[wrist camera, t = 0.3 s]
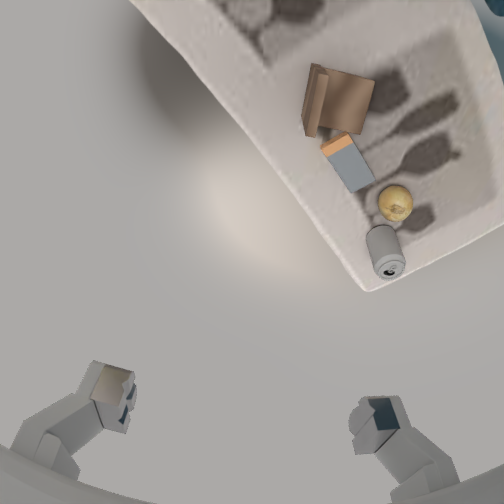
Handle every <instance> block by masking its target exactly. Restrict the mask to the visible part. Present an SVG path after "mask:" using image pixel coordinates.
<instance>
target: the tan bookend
mask: <svg viewBox="0 0 504 504" xmlns="http://www.w3.org/2000/svg"><path fill="white" fill-rule="evenodd" d="M374 84H375V81H373V80H369V79H367V78H364V77H360V76H356V75H352V74H348V73H344V72H340V71H336V70H332V69H327V68H323V67H321V65H318V64H313V63H311V68H310V73H309V79H308V84H307V89H306V94H305V99H304V104H303V109H302V114H301V117H302V121H303V126H304V130H305V135H306V136H308V137H313V138H315V136H316V132H317V128H318V126H322V127H327V128H332V129H337V130H341V131H346V132H350V133H355V134H359V135H360V134H361V131H362V127H363V124H364V121H365V117H366V114H367V110H368V106H369V103H370V99H371V96H372V92H373V88H374Z"/></svg>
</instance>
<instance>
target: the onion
mask: <svg viewBox="0 0 504 504" xmlns="http://www.w3.org/2000/svg"><path fill="white" fill-rule="evenodd" d="M378 207H379V210H380V212H381V214H382V216H383V217H384V218H385V219H387V220H389V221H393V222H399V221H402V220H404V219H405V218H407V217H408V215H409V214H410V213H411V211H412V208H413V199H412V196H411V194H410V193H409V191H408V190H406V189H405V188H403V187H401V186H389V187H388V188H386V189H385V190H383V191H382V192H381V194H380V196H379V199H378Z"/></svg>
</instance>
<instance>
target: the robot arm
mask: <svg viewBox="0 0 504 504" xmlns="http://www.w3.org/2000/svg"><path fill="white" fill-rule="evenodd" d="M134 380H135V374H134V372H133V371H130V370H126V369H122V368H119V367H115V366H112V365H108V364H105V363H101V362H98V361H95V360H93V361H92V362H91V363H90V365H89V367H88V369H87V371H86V373H85V375H84V377H83V379H82V381H81V383H80V385H79V387H78V390H77V391H76V393H75V394H73V393H71V394H69V395H68V396H66V397H64V398H63V399H61V400H59V401H57V402H56V403H54V404H52V405H51V406H49V407H47V408H45V409H43V410H42V411H40V412H38V413H37V414H35V415H33V416H31V417H29V418H28V419H26V420H24V421H23V423H22V425H21V427H20V429H19V431H18V433H17V435H16V437H15V439H14V441H13V444H12V446H11V448H10V449H8V448H6V447H5V446H3V445H1V444H0V504H155V503H150V502H146V501H142V500H138V499H133V498H129V497H126V496H122V495H119V494H115V493H112V492H109V491H106V490H103V489H99V488H96V487H93V486H91V485H88V484H85V483H82V482H80V481H77V479H78V476H79V473H80V469H79V467H78V465H77V464H76V462H75V461H74V460H73V458H72V457H71V456H72V455H73V454H74V453H75V452H77V451H78V450H79V449H80V448H82V447H83V446H84V445H85V444H87V443H88V442H89V441H90V440H91V439H93V438H94V437H95V436H96V435H97V434H99V433H100V432H101V431H102V430H103V428H105V429H108V430H112V431H116V432H120V433H124V434H126V432H127V429H128V425H129V422H130V415H129V412H130V411H132V410H133V409H134V405H135V402H136V396H137V388H136V385H135V384H134ZM358 403H359V406H358V407H356V408H355V409H353V411H352V413H351V414H350V417H349V429H350V432H351V433H352V434H353V435H354V438H353V440H352V442H353V446H354V451H355V454H356V455H357V454H372V453H375V454H374V455H375V456H376V457H377V458H378V459H379V460H380V462H381V463H382V464H383V465H384V466H385V468H386V469H387V470H388V471H389V472H390V473H391V475H392V476H393V477H394V478H395V479H396V480H397V482H398V483H399V484H400V485H399V486H398V487H396V488H395V489H393V490H392V491H391V493H390V495H391V500H392V503H389V504H504V464H502V465H500V466H498V467H496V468H494V469H491V470H489V471H487V472H485V473H483V474H480V475H478V476H475V477H473V478H470V479H468V480H465V481H463V482H460V481H459V478H458V475H457V472H456V469H455V466H454V464H453V461H452V459H451V457H449V456H448V455H447V454H446V453H445V452H443V451H442V450H441V449H440V448H439V447H437V446H436V445H435V444H434V443H433V442H432V441H430V440H429V439H428V438H427V437H426V436H424V435H423V434H422V433H421V432H420V431H418V430H417V429H416V428H415V427H411V424H410V421H409V419H408V416H407V414H406V411H405V409H404V406H403V404H402V401H401V399H400V397H399V396H371V397H370V396H369V397H363V398H361V399H360V401H359V402H358Z"/></svg>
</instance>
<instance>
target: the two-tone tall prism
mask: <svg viewBox="0 0 504 504" xmlns="http://www.w3.org/2000/svg"><path fill="white" fill-rule="evenodd" d="M320 147H321V150H322V151H323V153H324V154H325V156H326V157H327V159H328V160H329V161H330V163H331V164H332V166H333V167H334V169H335V170H336V172H337V173H338V175H339V176H340V178H341V179H342V181H343V182H344V184H345V185H346V187H347V188H348V190H349V191H350V193H353V192H355V191H357V190H358V189H360V188H362V187H364V186H366V185H368V184H370V183H372V182H374V181H376V180H375V178H374V176H373V174H372V172H371V170H370V169H369V167H368V165H367V163H366V162H365V160H364V158H363V157H362V155H361V153H360V152H359V150H358V148H357V147H356V145H355V144H354V142H353V140H352V139H351V137H350V136H349V134H348V133H347V132H346V131H345V132H343V133H341V134H339V135H338V136H336V137H334V138H332V139H331V140H329V141H327V142H325V143H324V144H322V145H320Z"/></svg>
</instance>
